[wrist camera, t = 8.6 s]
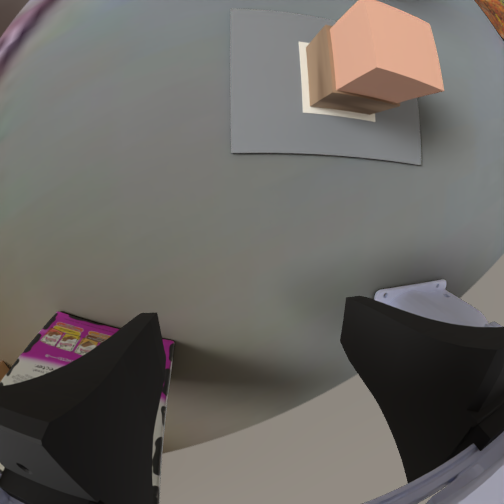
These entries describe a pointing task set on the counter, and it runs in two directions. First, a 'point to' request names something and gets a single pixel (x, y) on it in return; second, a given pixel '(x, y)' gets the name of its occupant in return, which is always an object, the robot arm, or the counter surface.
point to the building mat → (302, 97)
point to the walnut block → (325, 84)
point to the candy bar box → (73, 347)
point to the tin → (494, 13)
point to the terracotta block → (384, 53)
